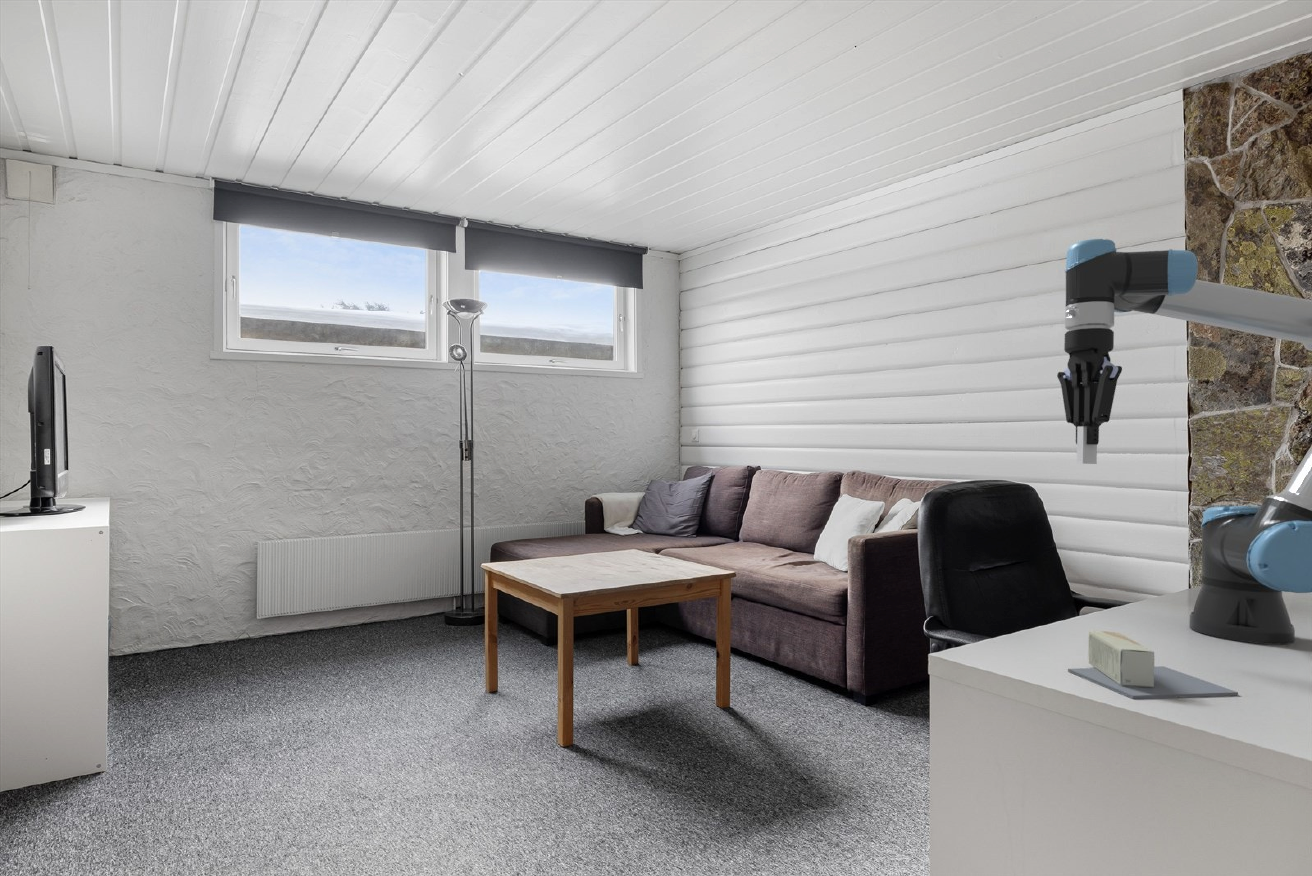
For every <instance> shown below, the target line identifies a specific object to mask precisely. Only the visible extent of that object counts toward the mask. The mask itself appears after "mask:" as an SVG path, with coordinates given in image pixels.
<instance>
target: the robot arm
mask: <svg viewBox="0 0 1312 876" xmlns="http://www.w3.org/2000/svg"><path fill="white" fill-rule="evenodd" d="M1066 252H1067V253H1066V261H1065V263H1066V264H1065V270H1064V273H1065V318H1064V328H1065V329H1066V330H1067V331H1066V332H1065V333H1064V346H1063V347H1064V348H1063V350H1064V352H1065V353H1067V354H1068V355H1069V359H1068V361H1067V368H1066V369H1065V370H1064V371H1058V372H1057V375H1056V376H1057V377H1056V378H1057V379H1058V381H1059V383H1060V388H1061V392H1062V393H1061V394H1062V398H1063V399H1062V400H1063V406H1064V413H1065V419H1066V422H1067V423H1068V424H1072V425H1073V426H1074V427H1075V444H1076V464H1080V465H1081V464H1083V465H1084V464H1087V465H1089V464H1090V465H1095V464H1096V465H1097V463H1098V461H1097V459H1098V458H1097V455H1098V450H1097V449H1098V445H1099V441H1100V426H1101V425H1102V424H1105V423H1108V422H1109V421H1110V418H1111V414H1112V408H1113V404H1114V399H1115V395H1116V394H1115V392H1116V388H1117V383H1118V379H1119V378H1120V375H1121V374H1122V371H1123V367H1122V366H1121V365H1115V364H1114V363H1112V362H1111V357H1110V354H1109V353H1110V352H1112V351H1113V350H1114V348H1115V346H1114V345H1115V344H1114V342H1115V341H1114V339H1115V338H1114V337H1115V332H1114V330H1112V329H1111V328H1114V326H1115V313H1129V312H1132V311H1133V312H1138V313H1145V314H1151V315H1157V316H1160V317H1166V318H1171V319H1176V320H1181V321H1188V322H1192V323H1198V324H1202V325H1207V326H1213V327H1218V328H1222V329H1229V330H1231V331H1232V330H1233V331H1238V332H1243V333H1248V334H1252V335H1259V336H1264V337H1269V338H1274V339H1280V340H1284V341H1290V342H1294V343H1300V344H1302V345H1303V346H1304V349H1306V350H1307V351H1310V352H1312V299H1307V298H1302V297H1301V298H1300V297H1297V296H1296V297H1295V296H1291V295H1285V294H1280V293H1279V294H1278V293H1273V292H1267V291H1262V290H1256V289H1251V288H1245V287H1241V286H1235V285H1229V284H1224V283H1219V282H1218V283H1217V282H1211V281H1207V280H1200V279H1197V277H1198V269H1199V266H1198V265H1199V264H1198V258H1197V257H1196V254H1195V253H1194V252H1192V251H1191V250H1186V249H1185V250H1183V249H1178V250H1177V249H1173V248H1172V249H1171V248H1170V249H1169V250H1148V251H1130V252H1129V251H1127V252H1126V251H1117V248H1116V243H1115V242H1114V240H1113V239H1112V240H1111V239H1108V238H1107V239H1106V238H1105V239H1104V238H1093V239H1092V238H1091V239H1085V240H1080V241H1078V242H1075V243H1073V244H1071V246H1069V248H1068V249H1067V251H1066ZM1200 528H1201V588H1200V591H1199V593H1198V595H1197V598H1196V601H1195V604H1194V607H1193V611H1191V612H1190V614H1189V625H1188V626H1189V628H1190V629H1191V630H1193V631H1195V632H1198V633H1200V634H1204V635H1208V636H1212V637H1217V638H1222V639H1228V640H1233V641H1239V642H1245V643H1255V644H1270V645H1272V644H1273V645H1283V644H1285V645H1286V644H1292V643H1294V642H1295V637H1296V636H1295V635H1296V633H1295V632H1296V631H1295V627H1294V625H1293V624H1292V622H1291V619H1290V616H1289V612H1288V608H1287V606H1286V603H1285V600H1284V598H1283V597H1284V595H1283V592H1284V593H1295V594H1308V593H1309V594H1310V593H1312V444H1311V445H1310V448H1309V449H1308V450H1307V452H1306V454H1305V455H1304V457H1303V459H1302V460H1301V462H1300V463H1299V465H1298V466H1297V468H1296V470H1295V471H1294V473H1293V475H1292V476H1291V478H1290V479H1289V480H1288V482H1287V484H1286V486H1285V488H1284V489H1283V490H1282V491H1281V492H1279V493H1275V494H1271V495H1267V496H1266V497H1265V499H1264V501H1263V502H1262V503H1261V505H1260V506H1247V505H1246V506H1245V505H1233V506H1225V505H1224V506H1212V507H1208V508H1206V509H1205V510H1204V512H1203V515H1202V522H1201V525H1200Z"/></svg>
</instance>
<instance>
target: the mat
mask: <svg viewBox="0 0 1312 876" xmlns="http://www.w3.org/2000/svg"><path fill="white" fill-rule="evenodd" d="M1067 672H1068V673H1070V674H1073V675H1076V676H1078V677H1080V678H1083V679H1085V680H1087V681H1090V682H1092V683H1094V684H1097V685H1099V686H1101V687H1104V688H1106V689H1108V690H1111V691H1114V692H1116V693H1118V694H1121V695H1123V696H1126V697H1127V698H1130V699H1133V700H1134V699H1135V700H1136V699H1139V700H1140V699H1164V698H1165V699H1167V698H1196V697H1197V698H1199V697H1225V696H1226V697H1227V696H1228V697H1229V696H1239V692H1238V691H1236V690H1233V689H1231V688H1226V687H1223V686H1222V685H1218V684H1215V683H1212V682H1210V681H1206V680H1205V679H1201V678H1199V677H1196V676H1192V675H1189V674H1187V673H1183V672H1181V671H1178V670H1175V669H1172V668H1170V667H1167V666H1163V665H1161V666H1158V665H1157V666H1154V687H1131V686H1121V685H1119V684H1118V683H1116V682H1115V681H1114V680H1112V679H1111V678H1109V677H1108V676H1106V675H1105V674H1104V673H1102V672H1101V671H1099V670H1098V669H1096V668H1095V667H1086V668H1084V667H1083V668H1079V667H1078V668H1067Z"/></svg>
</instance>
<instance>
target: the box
mask: <svg viewBox="0 0 1312 876" xmlns="http://www.w3.org/2000/svg"><path fill="white" fill-rule="evenodd" d="M1087 655H1088V664H1089V665H1091V666H1092V667H1093V668H1096V669H1098V670H1099V671H1101V672H1102V673H1104V674H1105V675H1106V676H1108V677H1109V678H1111V679H1112V680H1114V681H1115V682H1116V683H1118V684H1119V685H1121V686H1131V687H1154V667H1155V652H1154V651H1153V650H1151V649H1149V648H1148V647H1145V646H1144V645H1142V644H1140V643H1138V642H1137V641H1135V640H1133V639H1131V638H1129V637H1128V636H1126V635H1123V633H1120V632H1117V631H1116V632H1115V631H1103V630H1089V631H1088V654H1087Z"/></svg>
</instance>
